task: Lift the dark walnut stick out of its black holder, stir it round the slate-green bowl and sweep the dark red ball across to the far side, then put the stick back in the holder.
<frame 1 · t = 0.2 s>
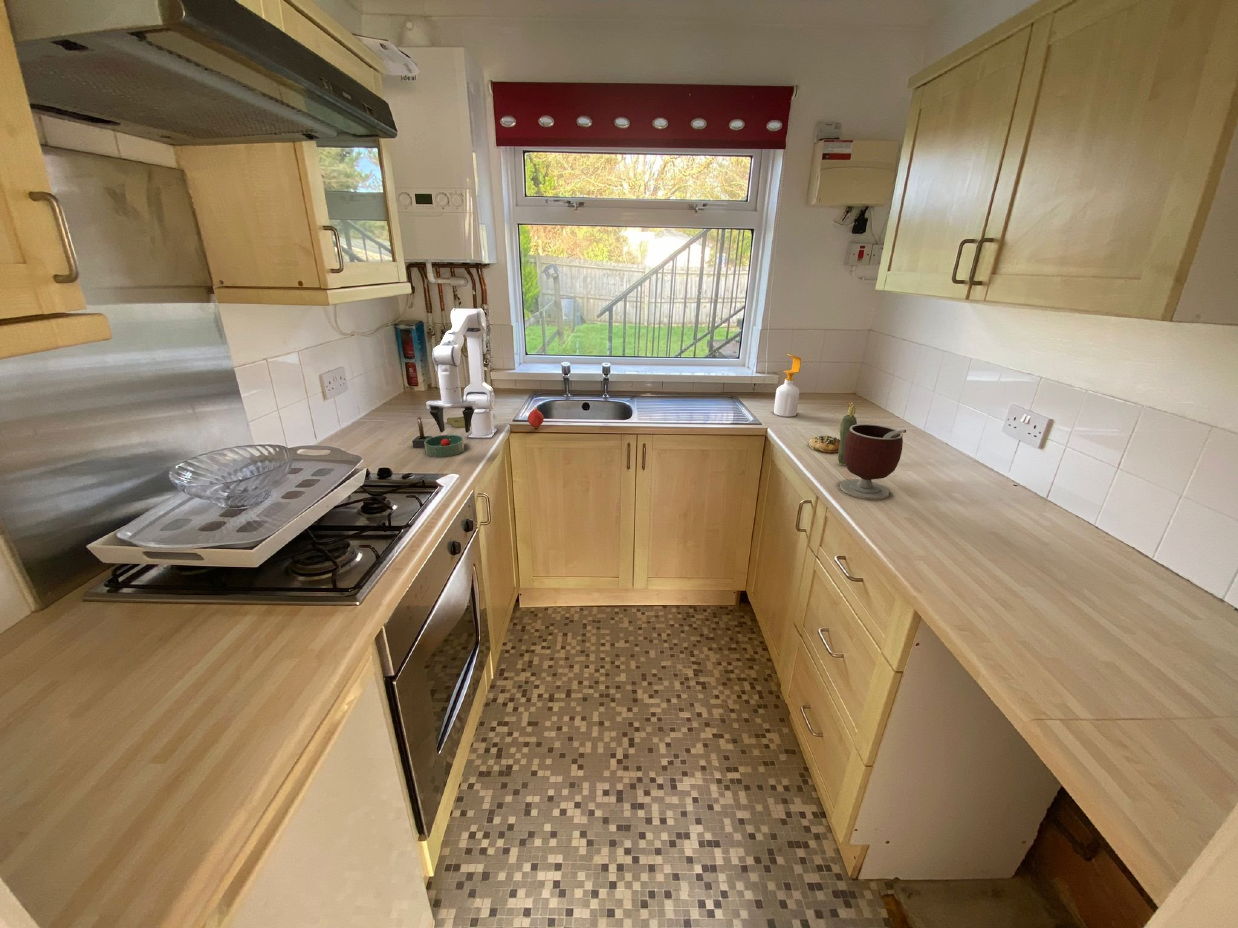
hand: (455, 431, 153), 10 cm above the worktop, tool pointing down, fingers open, 7 cm apart
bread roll: (824, 448, 172), on the worktop
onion: (536, 428, 190), on the worktop
stick: (421, 431, 169), in the holder
holder: (423, 445, 171), on the worktop
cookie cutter: (470, 421, 198), on the worktop
ball: (445, 443, 167), point 2 cm above the worktop, touching bowl
bowl: (445, 450, 167), on the worktop
vegetable: (840, 466, 157), on the worktop
soap bottle: (784, 414, 211), on the worktop
mate gourd: (865, 491, 140), on the worktop
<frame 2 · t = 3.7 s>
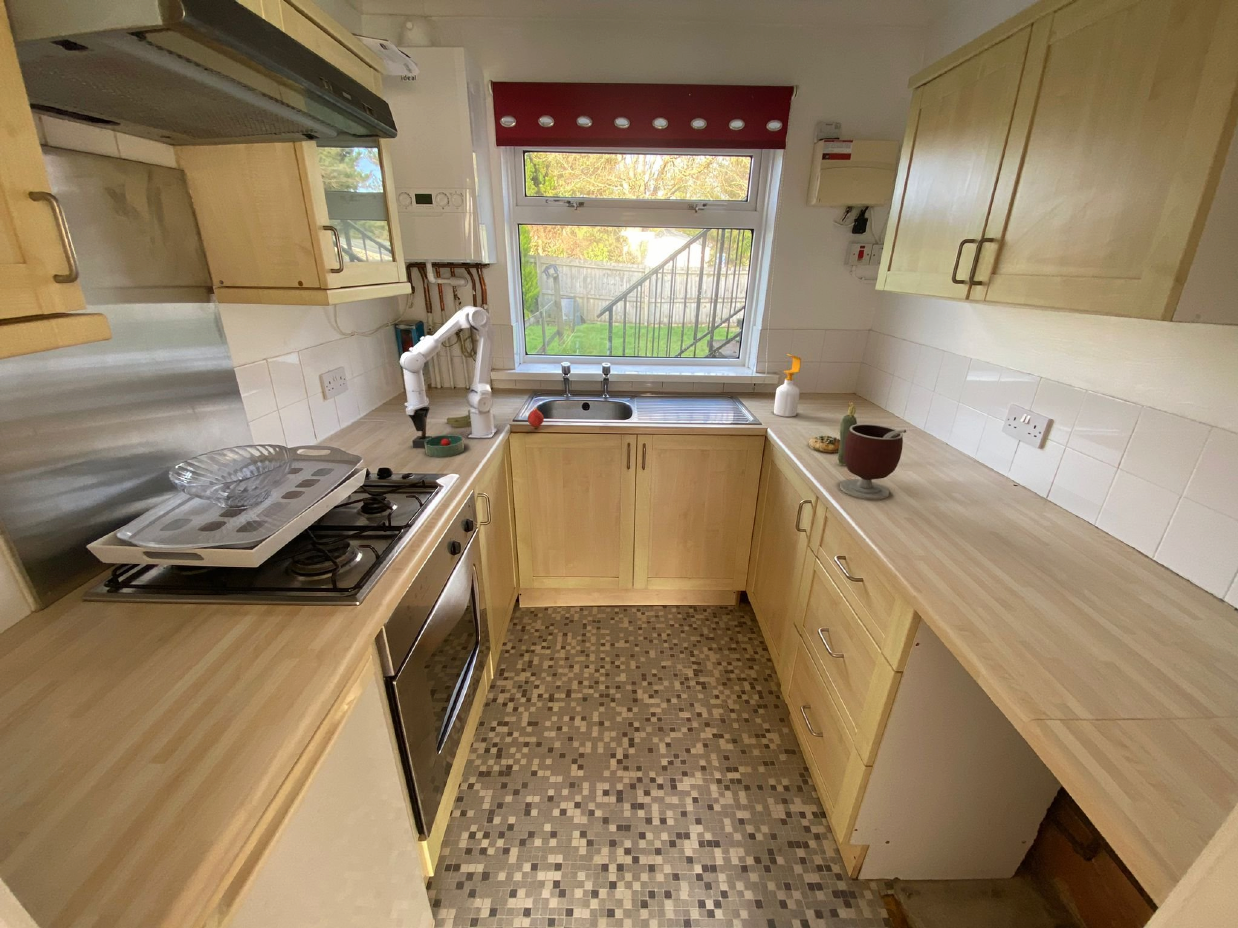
hand: (421, 430, 169), 5 cm above the worktop, tool pointing down, fingers closed on stick, 1 cm apart
stick: (423, 431, 169), in the holder, tilted 9°, touching gripper
everything else where it was.
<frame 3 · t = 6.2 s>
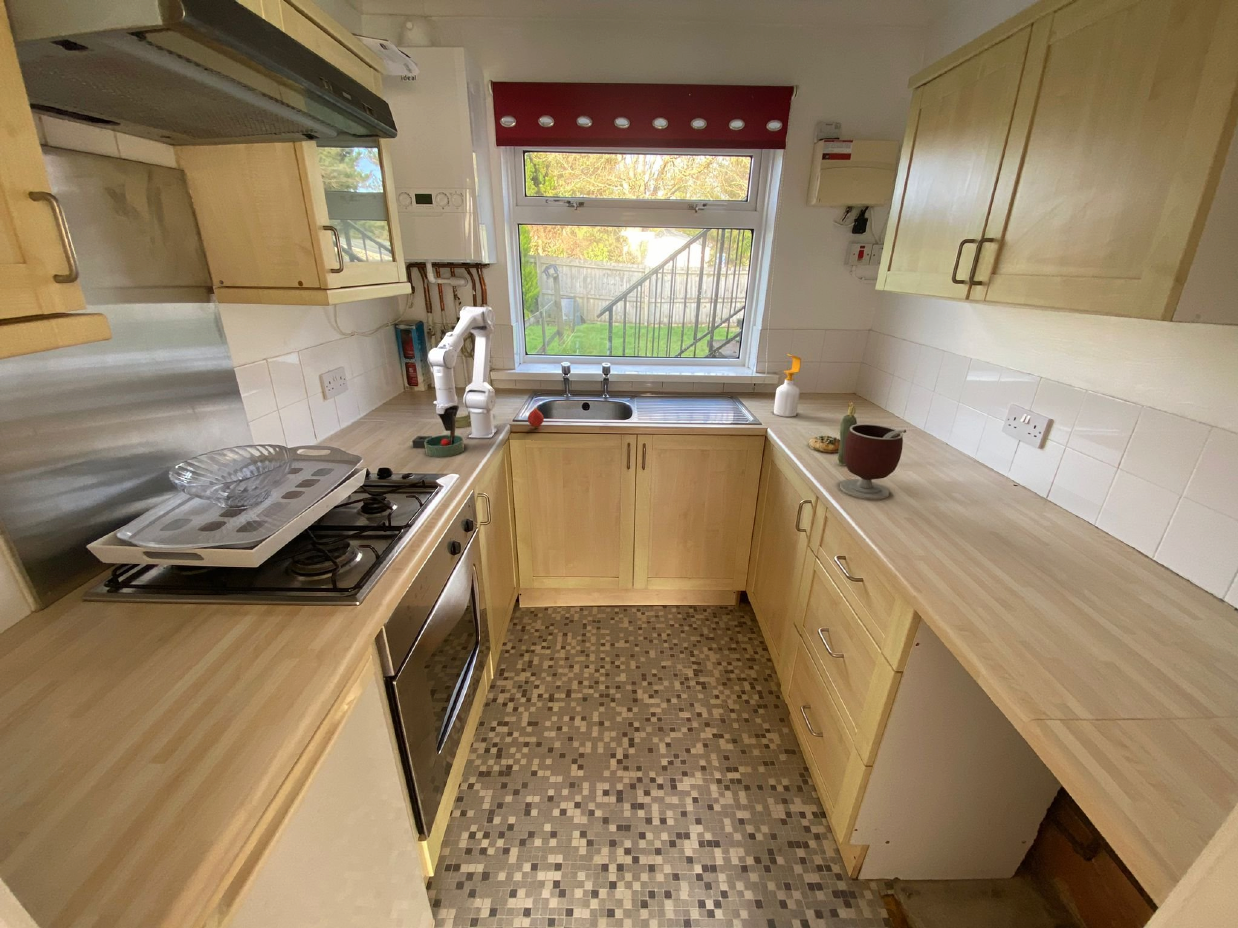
hand: (450, 429, 162), 8 cm above the worktop, tool pointing down, fingers closed on stick, 1 cm apart
stick: (452, 431, 163), point 7 cm above the worktop, tilted 9°, touching gripper
everything else where it was.
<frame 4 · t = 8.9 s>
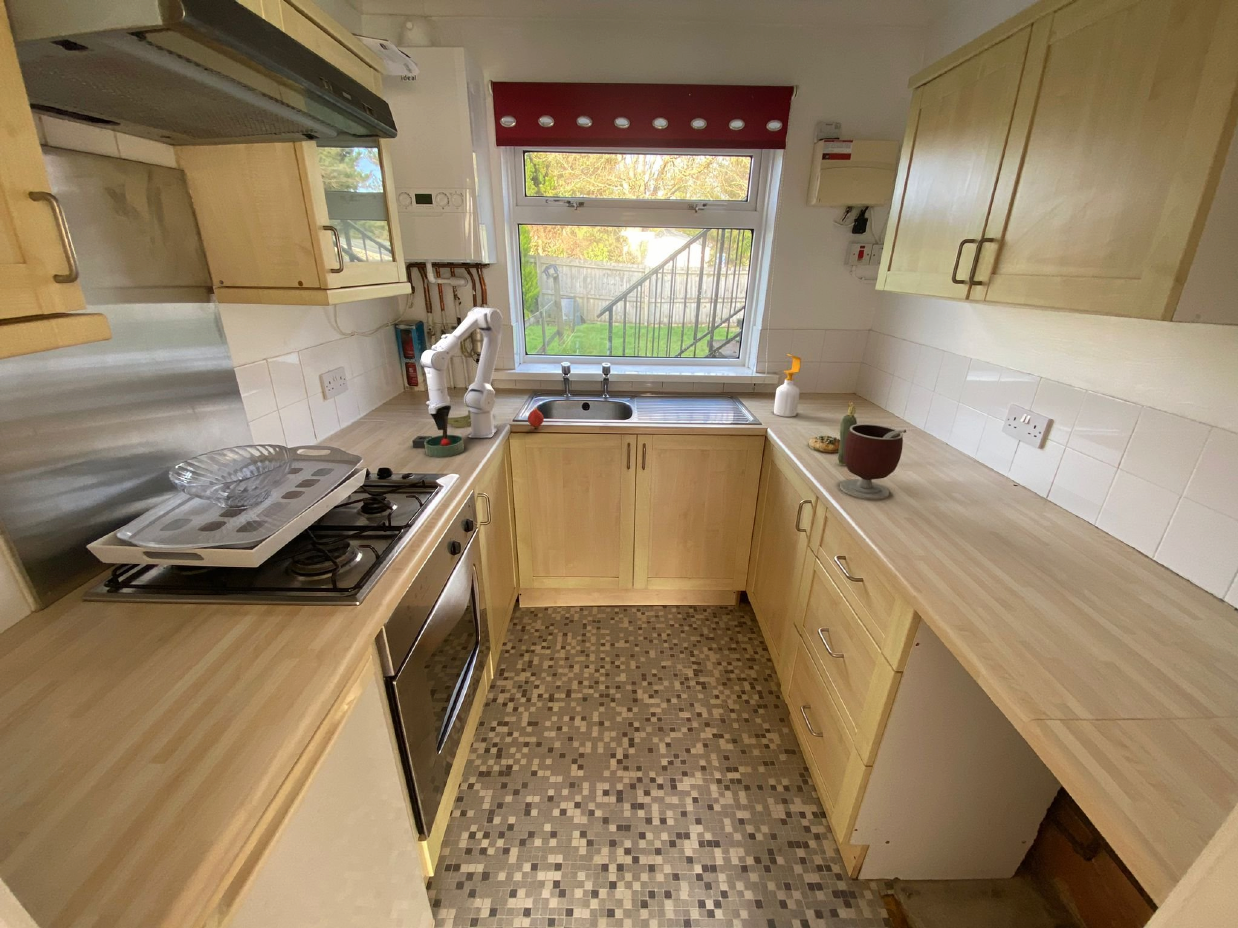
hand: (442, 428, 168), 6 cm above the worktop, tool pointing down, fingers closed on stick, 1 cm apart
stick: (445, 430, 168), in the bowl, point 6 cm above the worktop, tilted 9°, touching gripper
everything else where it was.
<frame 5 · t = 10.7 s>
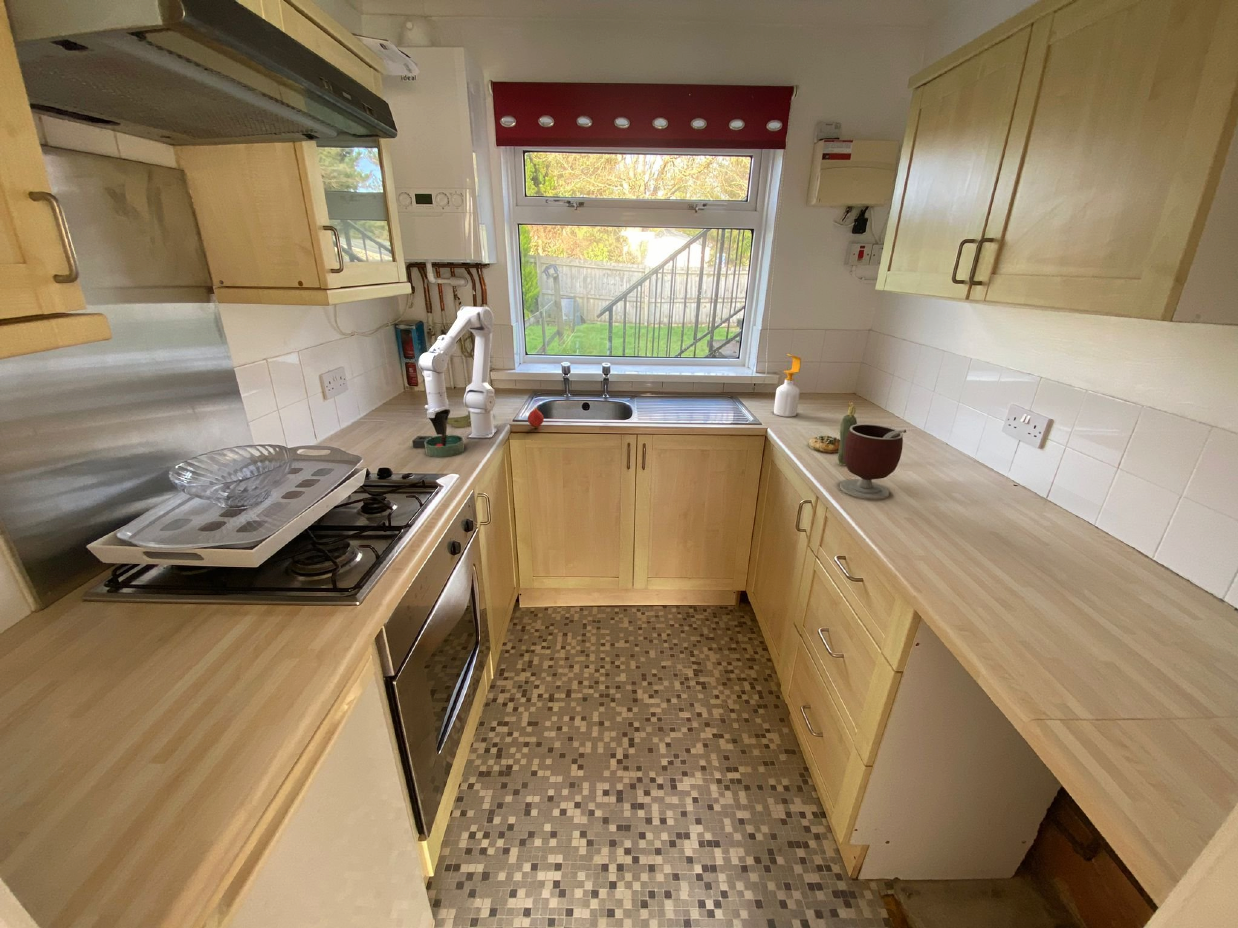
hand: (441, 433, 163), 6 cm above the worktop, tool pointing down, fingers closed on stick, 1 cm apart
stick: (443, 434, 163), in the bowl, point 6 cm above the worktop, tilted 9°, touching gripper
ball: (439, 448, 162), point 2 cm above the worktop, tilted 165°, touching bowl
everything else where it was.
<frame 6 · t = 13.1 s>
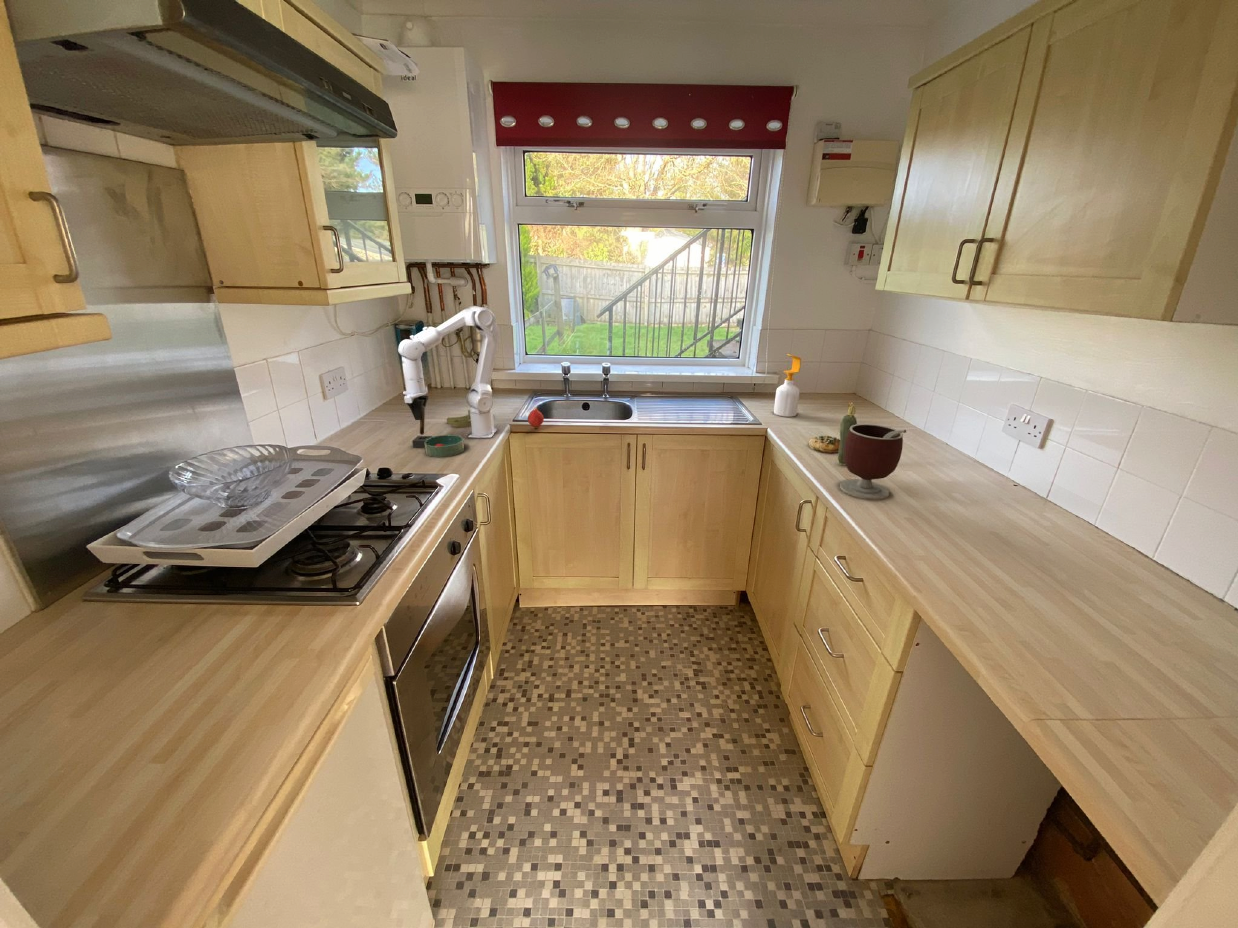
hand: (419, 419, 168), 9 cm above the worktop, tool pointing down, fingers closed on stick, 1 cm apart
stick: (422, 420, 168), point 9 cm above the worktop, tilted 10°, touching gripper
everything else where it was.
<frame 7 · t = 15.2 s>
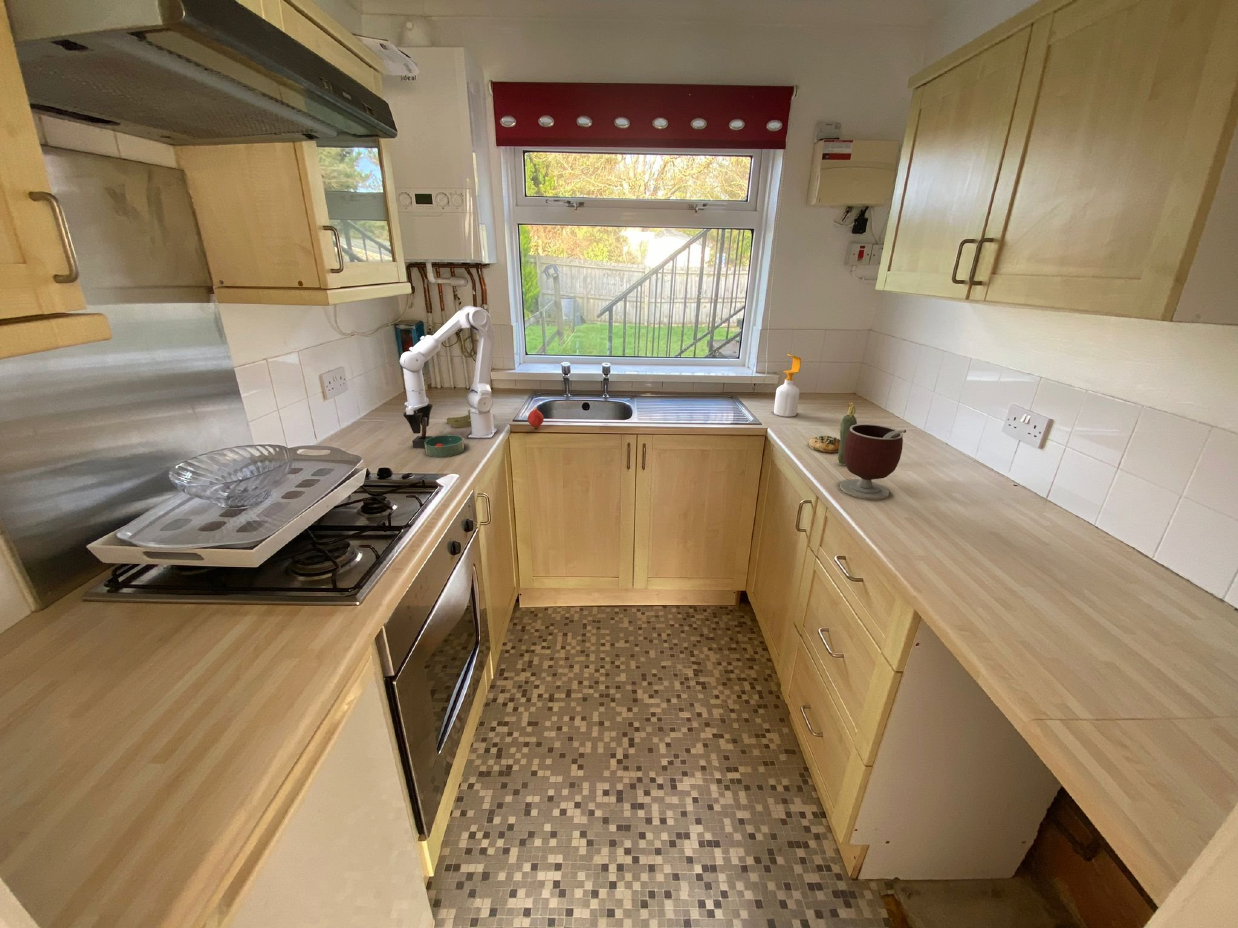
hand: (421, 429, 169), 6 cm above the worktop, tool pointing down, fingers open, 7 cm apart
stick: (423, 431, 170), in the holder, tilted 11°
ball: (439, 448, 163), point 2 cm above the worktop, tilted 176°, touching bowl
everything else where it was.
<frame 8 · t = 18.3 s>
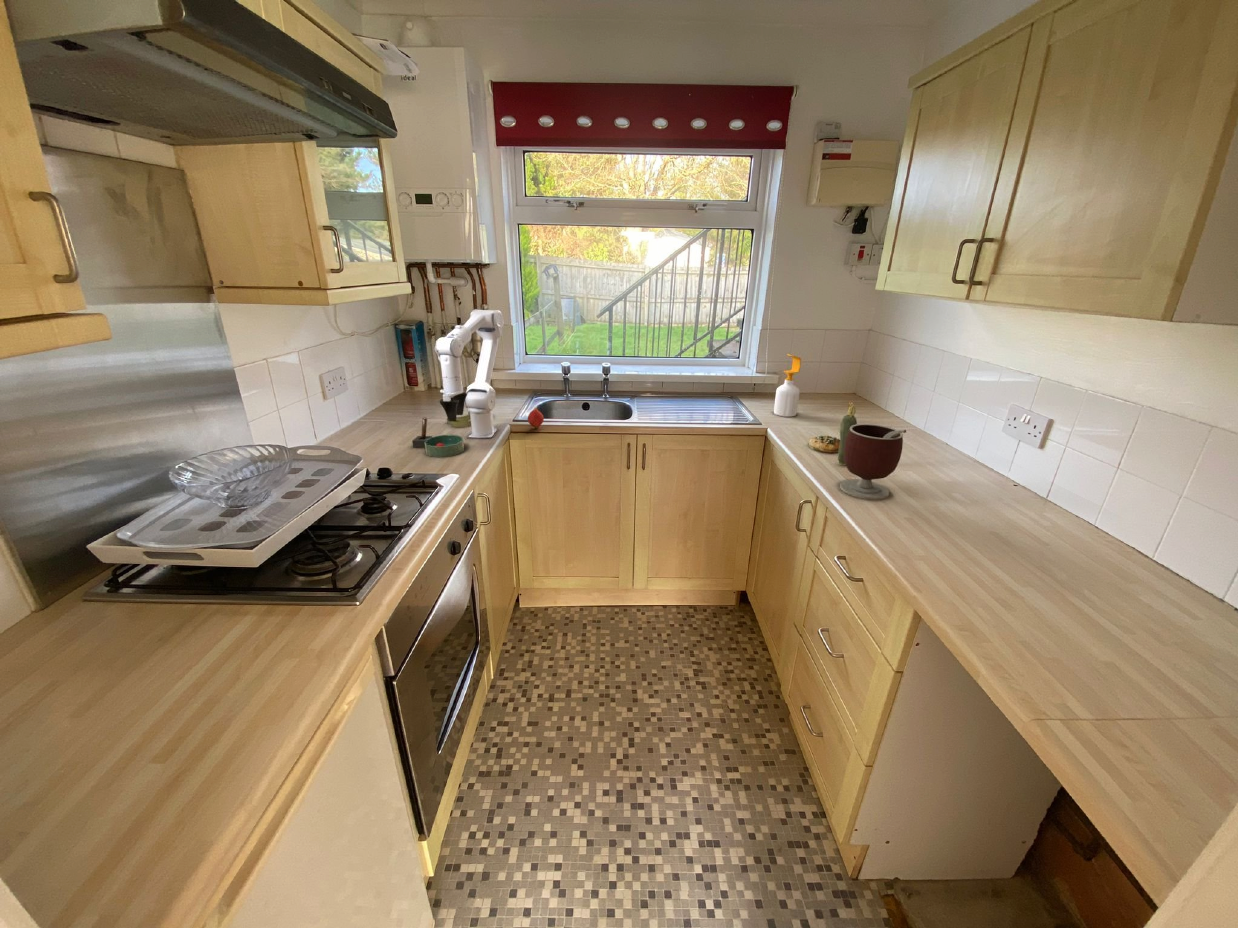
hand: (456, 418, 165), 10 cm above the worktop, tool pointing down, fingers open, 7 cm apart
ball: (440, 447, 163), point 2 cm above the worktop, tilted 161°, touching bowl
everything else where it was.
at the end: ball moved 4.2 cm from its start; ball 0.4 cm from the target spot in the bowl, point 2.1 cm above the bowl's base; stick 0.1 cm from the holder (horizontally) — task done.
